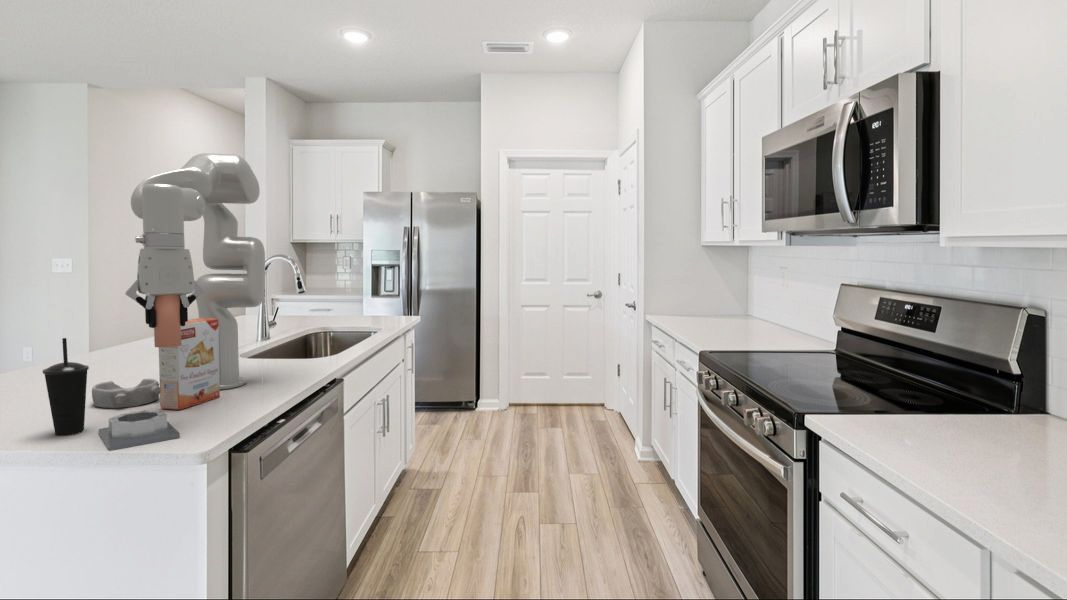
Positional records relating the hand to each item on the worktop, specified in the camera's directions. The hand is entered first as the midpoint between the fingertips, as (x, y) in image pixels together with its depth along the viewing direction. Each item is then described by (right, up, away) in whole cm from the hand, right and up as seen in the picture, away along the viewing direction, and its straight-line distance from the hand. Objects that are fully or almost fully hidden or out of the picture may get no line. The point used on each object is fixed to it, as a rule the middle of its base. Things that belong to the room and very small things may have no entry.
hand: (167, 325), depth 131 cm
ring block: (-2, -23, -6) cm, 23 cm away
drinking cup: (-18, -23, -4) cm, 29 cm away
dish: (-22, -21, +20) cm, 37 cm away
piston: (0, -4, 0) cm, 4 cm away
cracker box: (-6, -21, +20) cm, 30 cm away
